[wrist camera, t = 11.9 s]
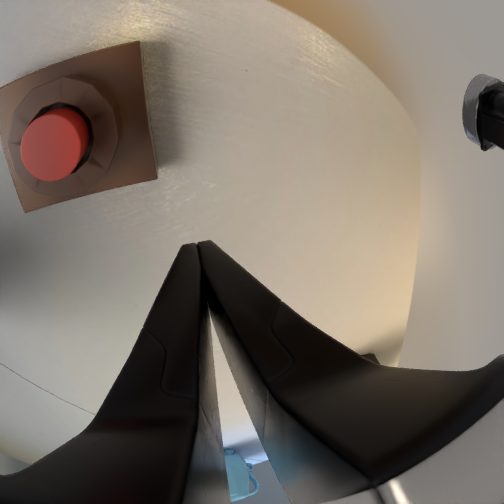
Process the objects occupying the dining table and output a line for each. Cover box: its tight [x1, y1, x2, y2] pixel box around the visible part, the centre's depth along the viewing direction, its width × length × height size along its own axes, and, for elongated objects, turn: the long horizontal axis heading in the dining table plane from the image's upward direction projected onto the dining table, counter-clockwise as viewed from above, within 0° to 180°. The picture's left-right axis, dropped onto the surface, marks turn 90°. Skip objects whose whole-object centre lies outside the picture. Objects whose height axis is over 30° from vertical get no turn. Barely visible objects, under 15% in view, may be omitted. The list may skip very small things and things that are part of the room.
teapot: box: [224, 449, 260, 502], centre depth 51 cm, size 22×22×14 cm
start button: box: [21, 108, 89, 182], centre depth 11 cm, size 3×3×2 cm
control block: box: [0, 41, 158, 213], centre depth 12 cm, size 9×8×4 cm
